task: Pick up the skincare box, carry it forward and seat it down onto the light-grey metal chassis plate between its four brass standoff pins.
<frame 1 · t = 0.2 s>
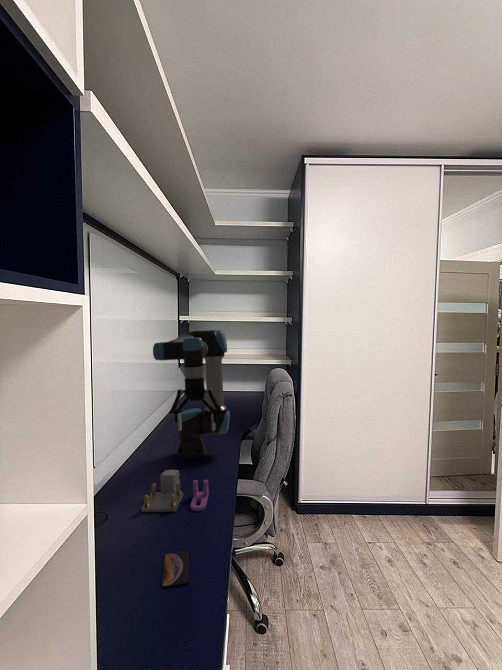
hand: (196, 430, 153), 27 cm above the table, fingers open, 13 cm apart
skincare box: (170, 490, 163), on the table
bracket: (199, 503, 150), on the table
chassis: (163, 503, 151), on the table
smartphone: (175, 570, 111), on the table
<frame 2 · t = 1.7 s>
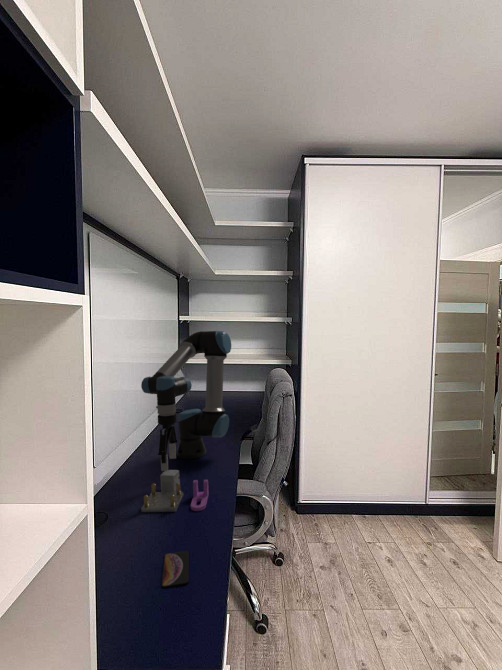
hand: (168, 464, 162), 11 cm above the table, fingers open, 13 cm apart
nothing on the table moved.
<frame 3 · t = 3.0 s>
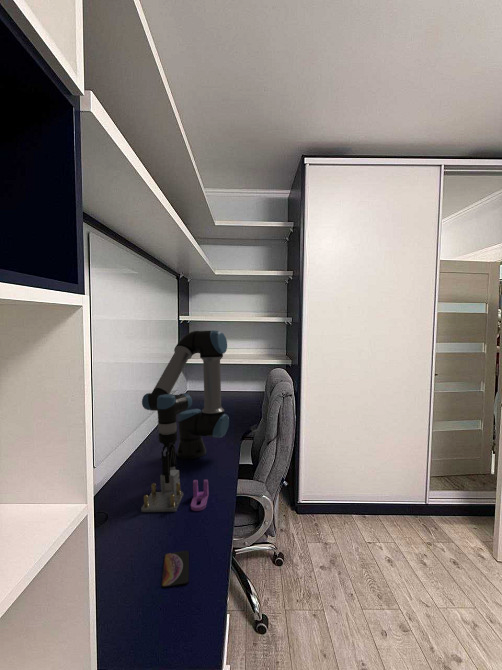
hand: (170, 485, 163), 2 cm above the table, fingers closed on skincare box, 7 cm apart
skincare box: (170, 489, 163), on the table, touching gripper
everything else where it was.
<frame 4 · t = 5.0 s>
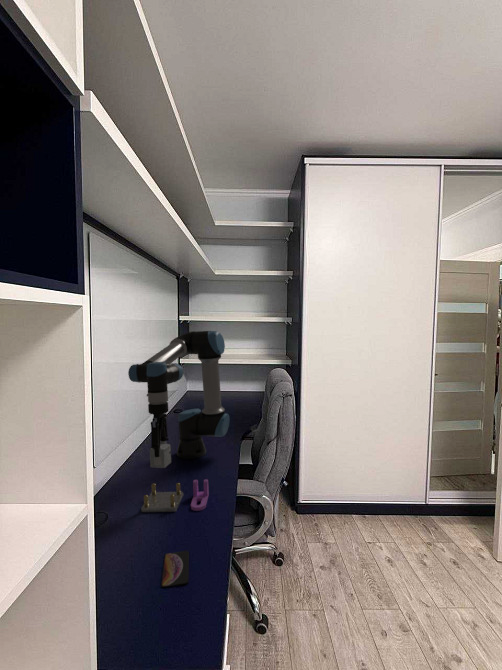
hand: (160, 460, 150), 17 cm above the table, fingers closed on skincare box, 7 cm apart
skincare box: (161, 465, 150), point 15 cm above the table, touching gripper
everything else where it was.
when the fingers open (4 cm above the table, at t = 7.1 s): skincare box drops 1 cm, resting on chassis.
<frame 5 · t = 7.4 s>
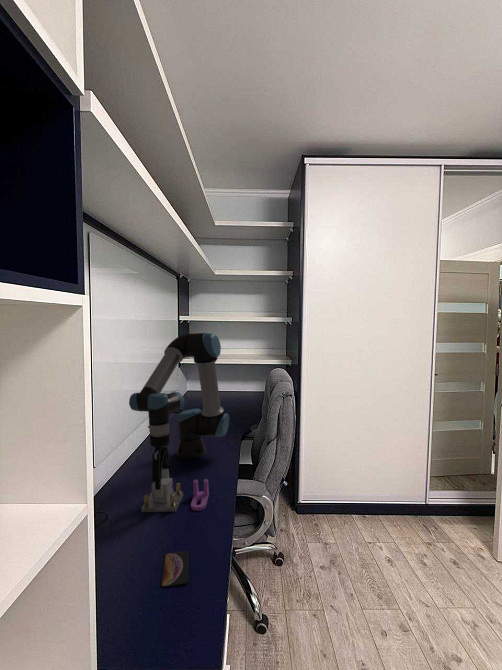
hand: (162, 490, 151), 5 cm above the table, fingers open, 9 cm apart
skincare box: (163, 499, 151), point 1 cm above the table, touching chassis
everything else where it was.
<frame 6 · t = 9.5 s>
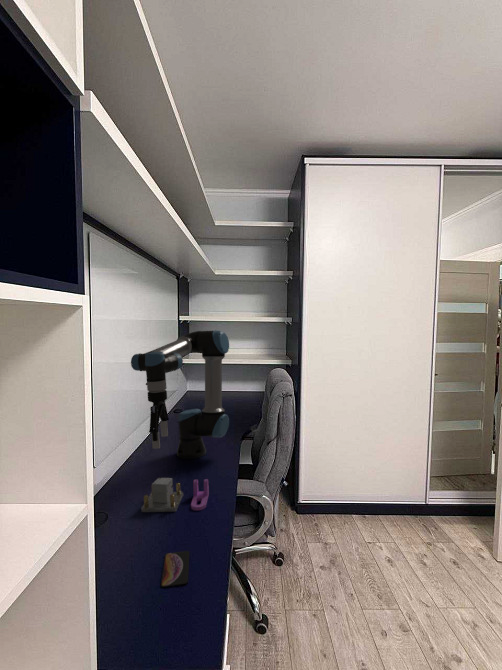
hand: (160, 442, 157), 22 cm above the table, fingers open, 13 cm apart
nothing on the table moved.
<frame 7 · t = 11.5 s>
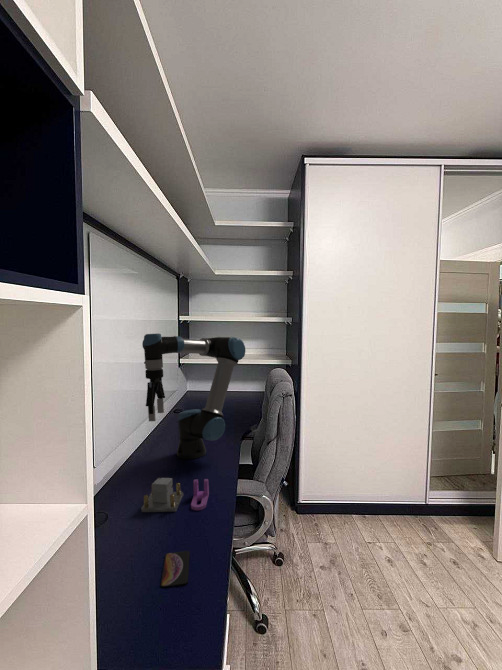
hand: (156, 416, 171), 29 cm above the table, fingers open, 13 cm apart
nothing on the table moved.
at the end: skincare box 0.2 cm from the chassis (horizontally); skincare box tilted 0°; the gripper is holding nothing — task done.
